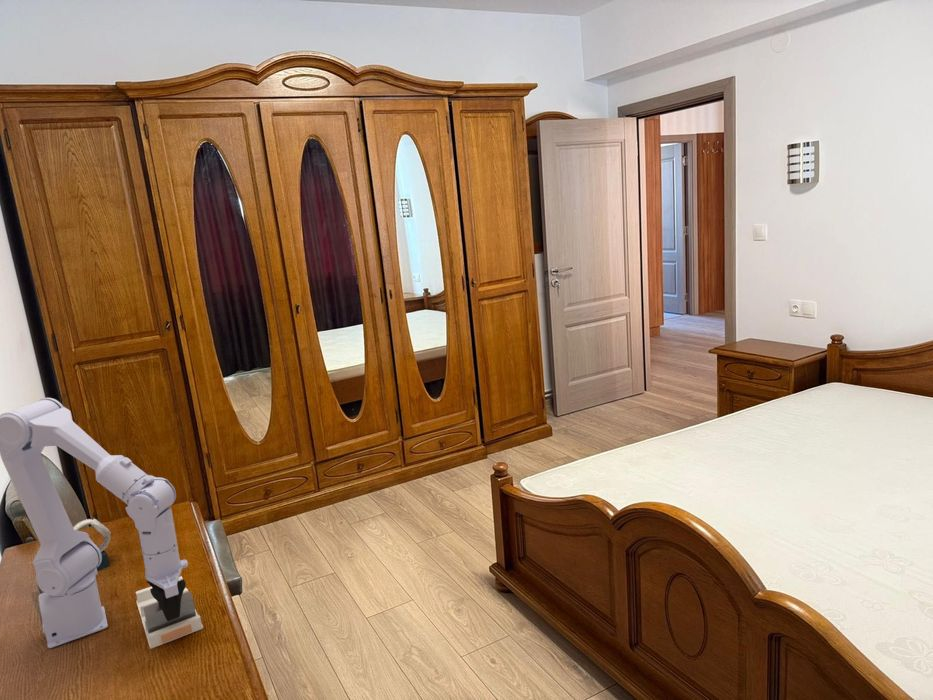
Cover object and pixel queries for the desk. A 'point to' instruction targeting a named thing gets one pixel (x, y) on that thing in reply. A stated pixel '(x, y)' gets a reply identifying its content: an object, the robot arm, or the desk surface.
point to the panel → (158, 620)
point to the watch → (104, 532)
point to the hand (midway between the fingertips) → (171, 613)
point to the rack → (171, 631)
